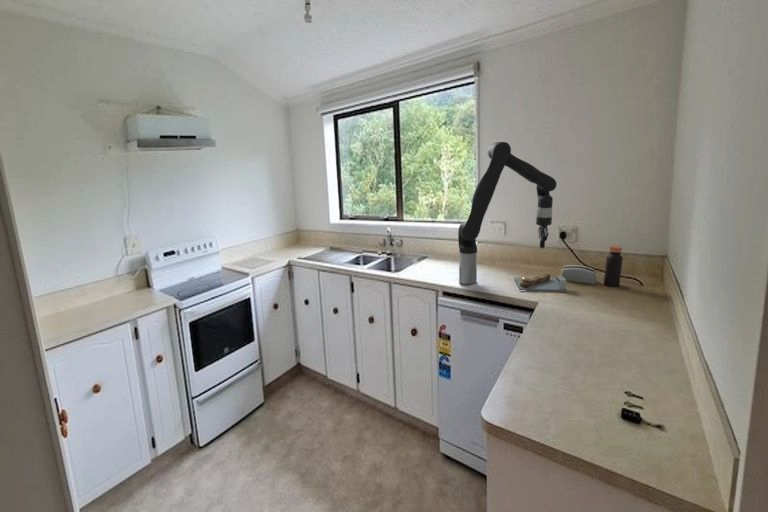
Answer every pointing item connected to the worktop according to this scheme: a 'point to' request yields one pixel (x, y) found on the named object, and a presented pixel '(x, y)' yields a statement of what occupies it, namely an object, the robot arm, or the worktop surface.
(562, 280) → the keeper
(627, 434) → the worktop surface
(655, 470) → the worktop surface
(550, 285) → the board
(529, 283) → the link
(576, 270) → the grey napkin holder
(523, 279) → the pintle
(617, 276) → the bottle
